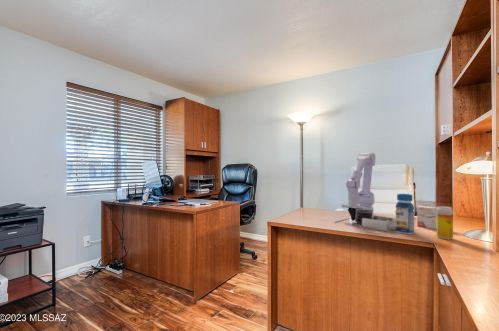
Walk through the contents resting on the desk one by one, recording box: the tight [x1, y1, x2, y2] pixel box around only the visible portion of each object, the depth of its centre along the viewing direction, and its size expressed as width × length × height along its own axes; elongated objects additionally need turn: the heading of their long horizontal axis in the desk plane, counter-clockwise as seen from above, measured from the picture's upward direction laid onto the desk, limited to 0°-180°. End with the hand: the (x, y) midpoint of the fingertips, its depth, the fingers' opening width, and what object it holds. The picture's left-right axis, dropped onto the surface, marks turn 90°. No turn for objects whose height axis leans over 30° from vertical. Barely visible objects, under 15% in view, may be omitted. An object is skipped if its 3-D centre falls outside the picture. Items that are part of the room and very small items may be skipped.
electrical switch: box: [354, 209, 374, 225], centre depth 146 cm, size 9×5×9 cm, turn 74°
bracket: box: [361, 215, 396, 232], centre depth 138 cm, size 14×13×6 cm
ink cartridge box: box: [416, 200, 437, 230], centre depth 138 cm, size 9×5×15 cm, turn 47°
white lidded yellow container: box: [436, 205, 454, 241], centre depth 116 cm, size 6×6×15 cm
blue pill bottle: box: [394, 193, 415, 235], centre depth 127 cm, size 8×8×20 cm
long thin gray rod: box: [334, 217, 351, 224], centre depth 155 cm, size 18×1×1 cm, turn 130°
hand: (353, 220), depth 150 cm, fingers closed
